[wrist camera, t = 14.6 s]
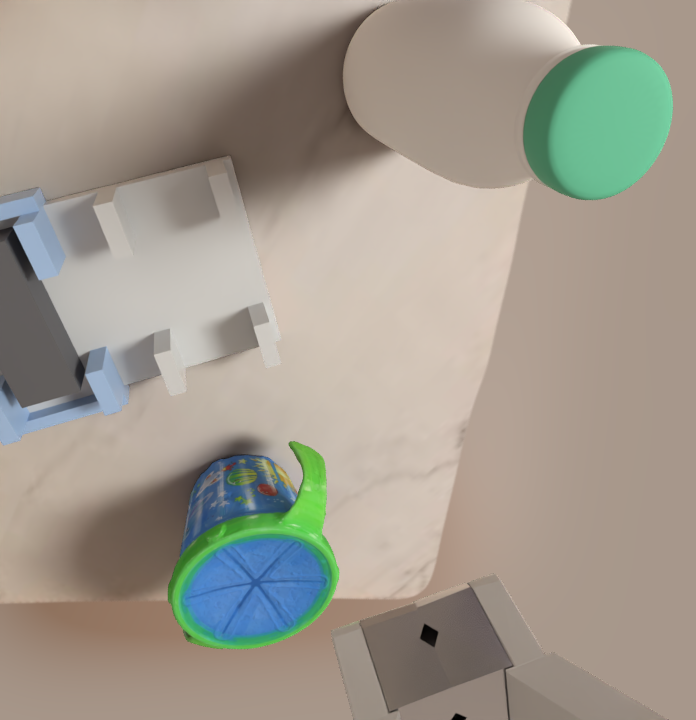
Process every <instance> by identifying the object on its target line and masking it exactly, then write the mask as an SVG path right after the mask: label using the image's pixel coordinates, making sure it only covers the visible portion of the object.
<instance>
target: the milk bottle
mask: <svg viewBox="0 0 696 720" xmlns="http://www.w3.org/2000/svg"><path fill="white" fill-rule="evenodd" d="M343 87H344V93H345V98H346V101H347V104H348V107H349V109H350V111H351V113H352V115H353V117H354V118H355V120H356V121H357V122H358V124H359V125H360V126H361V127H362V128H363V129H364V130H365V131H366V132H367V133H368V134H370V135H371V136H372V137H374V138H375V139H377V140H378V141H380V142H381V143H383V144H385V145H386V146H388V147H389V148H391V149H393V150H394V151H396V152H398V153H399V154H401V155H403V156H404V157H406V158H408V159H410V160H411V161H413V162H415V163H417V164H418V165H420V166H422V167H424V168H425V169H427V170H429V171H431V172H433V173H435V174H437V175H439V176H441V177H443V178H445V179H448V180H450V181H452V182H455V183H458V184H462V185H466V186H470V187H475V188H489V189H495V188H504V187H510V186H515V185H518V184H522V183H524V182H527V181H530V180H532V179H534V180H535V181H537V182H538V183H540V184H542V185H544V186H547V187H550V188H552V189H554V190H555V191H557V192H559V193H561V194H564V195H566V196H569V197H572V198H576V199H581V200H598V199H604V198H608V197H611V196H614V195H616V194H618V193H620V192H622V191H624V190H626V189H627V188H629V187H630V186H632V185H633V184H634V183H635V182H637V181H638V180H639V179H640V178H641V177H642V176H643V175H644V174H645V173H646V172H647V170H648V169H649V168H650V167H651V166H652V164H653V163H654V162H655V160H656V158H657V157H658V155H659V153H660V152H661V150H662V148H663V146H664V143H665V141H666V138H667V136H668V133H669V129H670V125H671V120H672V112H673V99H672V91H671V87H670V84H669V81H668V78H667V76H666V74H665V72H664V71H663V69H662V68H661V67H660V66H659V64H658V63H657V62H656V61H655V60H653V59H652V58H650V57H649V56H648V55H646V54H644V53H643V52H641V51H638V50H635V49H631V48H626V47H620V46H600V45H592V44H588V45H581V44H580V43H579V41H578V40H577V38H576V37H575V35H574V34H573V32H572V31H571V30H570V29H569V28H568V27H567V26H566V25H565V24H564V23H563V22H562V21H561V20H560V19H559V18H558V17H557V16H555V15H554V14H552V13H551V12H549V11H548V10H546V9H544V8H542V7H540V6H538V5H536V4H534V3H531V2H528V1H525V0H398V1H394V2H391V3H388V4H386V5H384V6H382V7H380V8H379V9H377V10H376V11H374V12H373V13H372V14H371V15H369V16H368V17H367V18H366V19H365V20H364V22H363V23H362V24H361V25H360V26H359V28H358V29H357V31H356V32H355V34H354V36H353V38H352V40H351V42H350V44H349V46H348V49H347V52H346V56H345V60H344V67H343Z"/></svg>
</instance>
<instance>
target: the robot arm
mask: <svg viewBox="0 0 696 720" xmlns="http://www.w3.org/2000/svg"><path fill="white" fill-rule="evenodd" d="M360 624H361V625H360ZM331 635H332V641H333V645H334V649H335V653H336V656H337V660H338V664H339V668H340V671H341V675H342V678H343V683H344V686H345V690H346V694H347V698H348V701H349V705H350V709H351V712H352V716H353V720H668V719H667V718H664V717H663V716H661V715H660V714H658V713H656V712H655V711H653V710H651V709H650V708H648V707H646V706H645V705H643V704H641V703H640V702H638V701H636V700H634V699H633V698H631V697H629V696H627V695H626V694H624V693H622V692H621V691H619V690H618V689H616V688H614V687H612V686H610V685H609V684H607V683H606V682H604V681H602V680H601V679H599V678H597V677H596V676H594V675H592V674H590V673H589V672H587V671H585V670H584V669H582V668H580V667H579V666H577V665H575V664H574V663H572V662H570V661H569V660H567V659H565V658H563V657H562V656H560V655H558V654H557V653H555V652H552V653H549V654H545V653H544V651H543V650H542V648H541V646H540V644H539V643H538V641H537V639H536V638H535V636H534V635H533V633H532V631H531V629H530V628H529V626H528V624H527V623H526V621H525V619H524V618H523V616H522V614H521V613H520V611H519V610H518V608H517V606H516V604H515V603H514V601H513V599H512V598H511V596H510V595H509V593H508V591H507V589H506V588H505V586H504V585H503V583H502V581H501V579H500V578H499V577H498V576H497V575H496V574H494V573H493V574H489V575H487V576H484V577H481V578H479V579H476V580H473V581H471V582H468V583H462V584H459V585H457V586H454V587H452V588H449V589H446V590H443V591H441V592H438V593H435V594H433V595H430V596H427V597H425V598H422V599H420V600H416V601H414V602H413V603H411V604H408V605H405V606H402V607H399V608H396V609H393V610H390V611H387V612H384V613H381V614H378V615H375V616H372V617H369V618H366V619H363V620H360V623H359V621H357V622H354V623H351V624H348V625H345V626H342V627H339V628H337V629H334V630H331Z"/></svg>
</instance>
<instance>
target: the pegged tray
mask: <svg viewBox="0 0 696 720" xmlns="http://www.w3.org/2000/svg"><path fill="white" fill-rule="evenodd" d="M10 227H13V228H14V230H15V232H16V234H17V236H18V238H19V240H20V242H21V245H22V247H23V249H24V251H25V253H26V255H27V257H28V259H29V261H30V263H31V265H32V267H33V269H34V271H35V273H36V275H37V277H38V279H39V280H42V282H43V284H44V286H45V288H46V290H47V292H48V294H49V297H50V299H51V301H52V303H53V305H54V307H55V309H56V311H57V313H58V315H59V317H60V319H61V321H62V323H63V325H64V327H65V329H66V331H67V333H68V335H69V338H70V340H71V342H72V344H73V346H74V348H75V350H76V352H77V354H78V356H79V358H80V360H81V362H82V364H83V366H84V368H85V374H84V378H83V383H82V387H81V391H80V392H77V393H73V394H70V395H66V396H63V397H59V398H56V399H53V400H49V401H46V402H42V403H39V404H35V405H32V406H28V407H25V408H22V407H21V406H20V404H19V402H18V400H17V399H16V397H15V395H14V393H13V392H12V390H11V388H10V387H9V385H8V383H7V381H6V380H5V378H4V376H3V374H2V373H1V371H0V441H1V443H2V445H7V444H10V443H14V442H17V441H20V440H21V437H22V435H23V434H27V433H30V432H33V431H37V430H40V429H44V428H47V427H50V426H54V425H57V424H61V423H64V422H68V421H71V420H74V419H78V418H81V417H85V416H88V415H91V414H95V413H98V412H102V411H103V413H104V415H105V416H106V415H109V414H112V413H116V412H119V411H122V405H126V404H128V399H129V385H128V384H132V383H135V382H138V381H142V380H145V379H149V378H152V377H156V376H159V375H162V377H163V379H164V381H165V384H166V386H167V389H168V391H169V394H170V396H174V395H177V394H180V393H184V392H187V387H186V369H185V368H187V367H190V366H194V365H197V364H201V363H204V362H208V361H211V360H215V359H218V358H221V357H225V356H228V355H232V354H235V353H239V352H242V351H246V350H249V349H253V348H256V347H260V350H261V353H262V357H263V360H264V363H265V367H266V368H269V367H272V366H276V365H279V364H281V360H280V357H279V353H278V350H277V346H276V343H275V342H277V341H280V340H282V339H281V336H280V332H279V329H278V325H277V322H276V318H275V314H274V311H273V307H272V304H271V300H270V296H269V293H268V289H267V286H266V282H265V278H264V275H263V271H262V268H261V264H260V260H259V257H258V253H257V250H256V246H255V242H254V239H253V235H252V232H251V228H250V224H249V221H248V217H247V214H246V210H245V207H244V203H243V199H242V196H241V192H240V189H239V185H238V181H237V178H236V174H235V171H234V167H233V163H232V160H231V157H230V155H229V156H225V157H221V158H217V159H213V160H209V161H205V162H201V163H197V164H193V165H189V166H185V167H181V168H177V169H173V170H169V171H165V172H161V173H157V174H153V175H149V176H145V177H141V178H137V179H133V180H129V181H125V182H121V183H117V184H113V185H109V186H105V187H101V188H97V189H93V190H89V191H85V192H81V193H77V194H73V195H68V196H64V197H60V198H56V199H52V200H48V201H46V200H45V198H44V196H43V193H42V191H41V189H40V187H38V188H34V189H30V190H26V191H22V192H17V193H13V194H9V195H5V196H1V197H0V230H2V229H6V228H10Z"/></svg>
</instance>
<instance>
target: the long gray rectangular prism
mask: <svg viewBox="0 0 696 720" xmlns="http://www.w3.org/2000/svg"><path fill="white" fill-rule="evenodd" d="M0 371H1V373H2V374H3V376H4V378H5V380H6V381H7V383H8V385H9V387H10V388H11V390H12V392H13V393H14V395H15V397H16V399H17V400H18V402H19V404H20V406H21V407H22V408H25V407H28V406H32V405H35V404H39V403H42V402H46V401H49V400H53V399H56V398H59V397H63V396H66V395H70V394H73V393H77V392H80V391H81V387H82V383H83V378H84V374H85V368H84V366H83V364H82V362H81V360H80V358H79V356H78V354H77V352H76V350H75V348H74V346H73V344H72V342H71V340H70V338H69V335H68V333H67V331H66V329H65V327H64V325H63V323H62V321H61V319H60V317H59V315H58V313H57V311H56V309H55V307H54V305H53V303H52V301H51V299H50V297H49V294H48V292H47V290H46V288H45V286H44V284H43V282H42V280H39V279H38V277H37V275H36V273H35V271H34V269H33V267H32V265H31V263H30V261H29V259H28V257H27V255H26V253H25V251H24V249H23V247H22V245H21V242H20V240H19V238H18V236H17V234H16V232H15V230H14V228H13V227H10V228H6V229H2V230H0Z"/></svg>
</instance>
